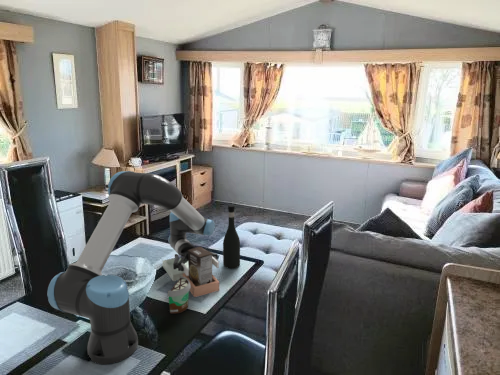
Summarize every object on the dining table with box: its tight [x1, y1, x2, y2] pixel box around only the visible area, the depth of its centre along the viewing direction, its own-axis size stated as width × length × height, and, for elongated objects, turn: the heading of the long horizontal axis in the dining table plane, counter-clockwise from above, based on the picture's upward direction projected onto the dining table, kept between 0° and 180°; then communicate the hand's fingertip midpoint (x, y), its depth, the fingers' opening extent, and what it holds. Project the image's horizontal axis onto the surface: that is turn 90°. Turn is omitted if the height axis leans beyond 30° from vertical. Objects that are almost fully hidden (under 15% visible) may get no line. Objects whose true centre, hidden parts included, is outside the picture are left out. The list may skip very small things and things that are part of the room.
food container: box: [167, 276, 191, 315], centre depth 137 cm, size 12×6×10 cm, turn 168°
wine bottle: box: [222, 204, 241, 270], centre depth 168 cm, size 8×8×30 cm
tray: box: [162, 257, 189, 282], centre depth 168 cm, size 18×16×3 cm
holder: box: [183, 272, 220, 298], centre depth 153 cm, size 11×14×4 cm
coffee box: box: [188, 246, 213, 286], centre depth 151 cm, size 9×6×16 cm
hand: (203, 268), depth 148 cm, fingers open, 13 cm apart
